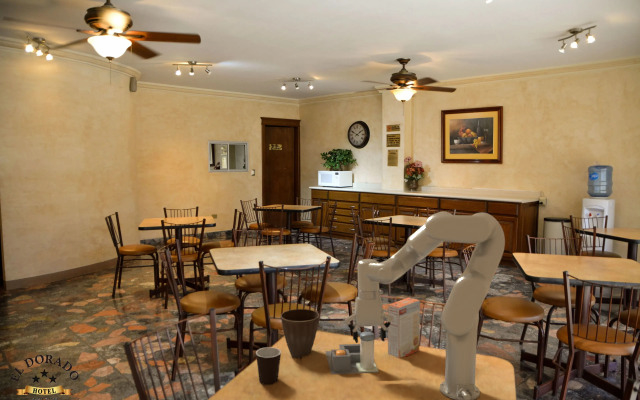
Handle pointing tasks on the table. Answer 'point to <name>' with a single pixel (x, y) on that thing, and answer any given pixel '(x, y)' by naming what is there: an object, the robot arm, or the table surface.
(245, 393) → the table surface
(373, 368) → the mat
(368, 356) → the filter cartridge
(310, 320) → the plant pot
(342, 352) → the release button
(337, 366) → the grey compartment tray
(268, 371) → the coffee mug
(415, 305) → the cracker box
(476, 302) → the robot arm
